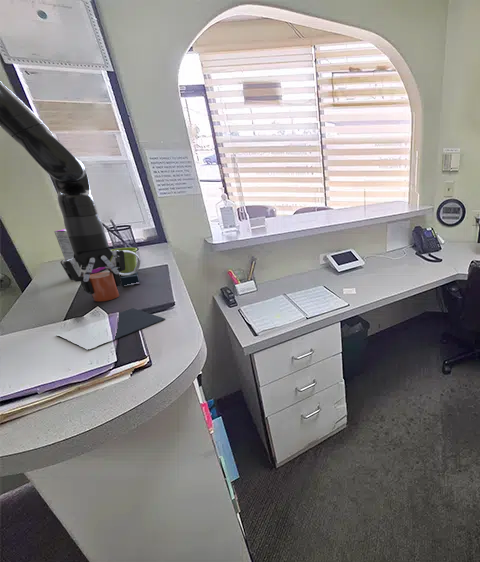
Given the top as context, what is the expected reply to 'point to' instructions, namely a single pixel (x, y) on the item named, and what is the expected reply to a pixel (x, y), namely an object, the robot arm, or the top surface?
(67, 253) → the candy bar box
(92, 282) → the orange cylinder
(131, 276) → the watch
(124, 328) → the desk mat
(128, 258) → the plant pot
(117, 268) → the robot arm
